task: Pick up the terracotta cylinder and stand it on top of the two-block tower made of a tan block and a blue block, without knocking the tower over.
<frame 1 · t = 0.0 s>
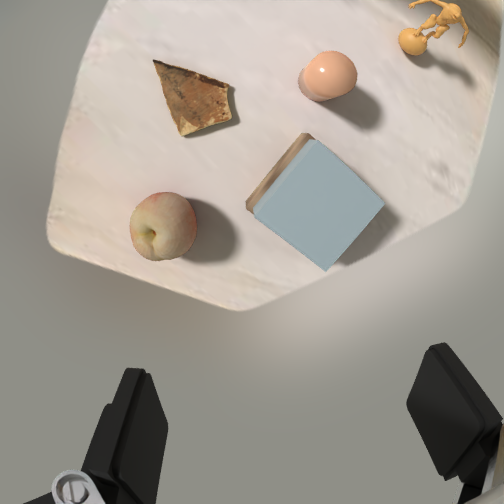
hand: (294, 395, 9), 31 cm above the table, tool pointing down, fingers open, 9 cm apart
terracotta cylinder: (318, 82, 33), on the table
bottom block: (306, 193, 39), on the table, touching top block
top block: (314, 201, 35), point 4 cm above the table, touching bottom block
figurine: (407, 39, 31), on the table
shard: (186, 102, 34), on the table
fruit: (170, 217, 39), on the table
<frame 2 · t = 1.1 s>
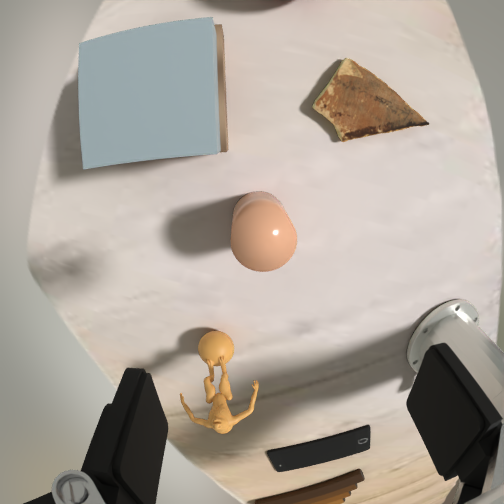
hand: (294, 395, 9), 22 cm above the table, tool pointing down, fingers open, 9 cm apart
pan flute: (322, 497, 57), on the table
terracotta cylinder: (258, 216, 30), on the table
bottom block: (167, 98, 26), on the table, touching top block
cell phone: (320, 448, 46), on the table
top block: (156, 96, 22), point 4 cm above the table, touching bottom block
figurine: (219, 343, 35), on the table
shard: (365, 96, 26), on the table
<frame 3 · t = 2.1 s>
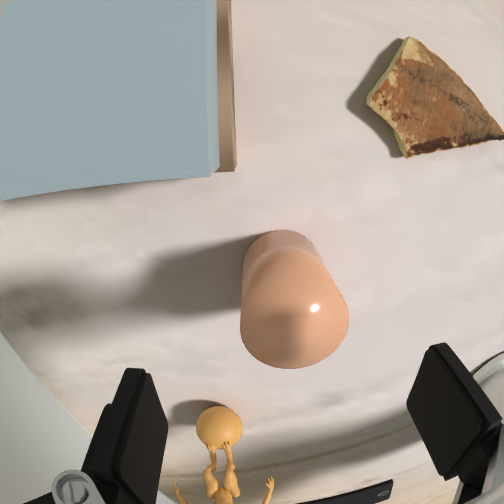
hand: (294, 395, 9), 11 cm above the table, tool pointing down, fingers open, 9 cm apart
terracotta cylinder: (281, 266, 20), on the table
bottom block: (145, 86, 16), on the table
cell phone: (336, 501, 35), on the table
top block: (115, 77, 12), point 4 cm above the table
figurine: (224, 416, 26), on the table
shard: (432, 93, 17), on the table
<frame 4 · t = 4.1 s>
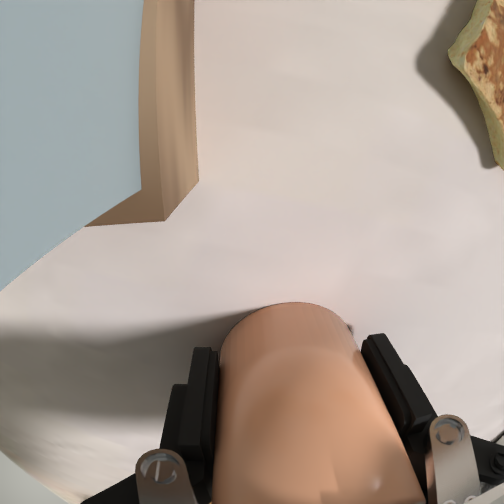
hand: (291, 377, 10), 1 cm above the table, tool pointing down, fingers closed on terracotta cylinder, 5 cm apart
terracotta cylinder: (288, 359, 11), on the table, touching gripper
bottom block: (42, 45, 7), on the table, touching top block
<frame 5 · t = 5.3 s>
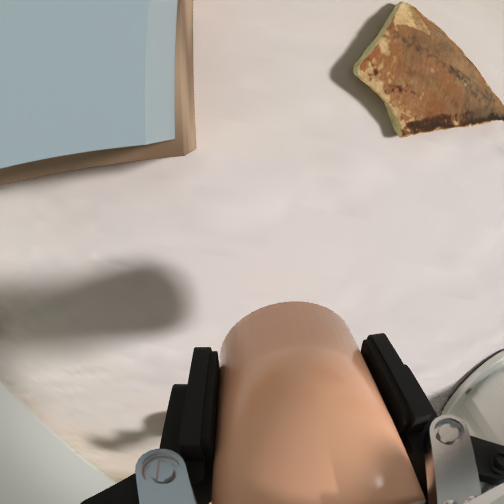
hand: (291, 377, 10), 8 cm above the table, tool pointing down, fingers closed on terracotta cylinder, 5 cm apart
terracotta cylinder: (287, 358, 11), point 7 cm above the table, touching gripper
bottom block: (94, 64, 13), on the table, touching top block
top block: (61, 39, 8), point 4 cm above the table, touching bottom block
shard: (428, 66, 14), on the table
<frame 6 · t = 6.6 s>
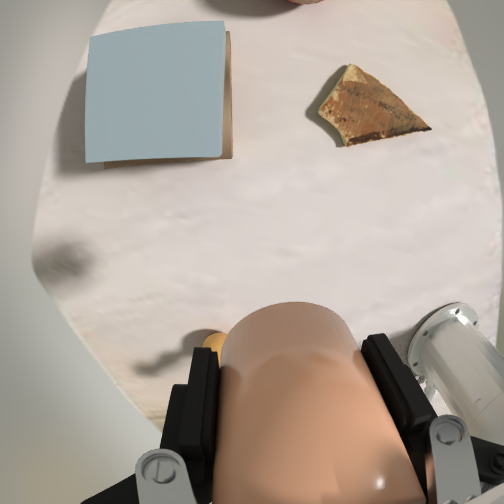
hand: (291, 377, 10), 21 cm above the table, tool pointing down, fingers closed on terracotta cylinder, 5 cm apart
terracotta cylinder: (288, 359, 11), point 20 cm above the table, touching gripper
bottom block: (173, 102, 26), on the table, touching top block
top block: (162, 95, 22), point 4 cm above the table, touching bottom block
figurine: (223, 345, 36), on the table
shard: (369, 101, 27), on the table
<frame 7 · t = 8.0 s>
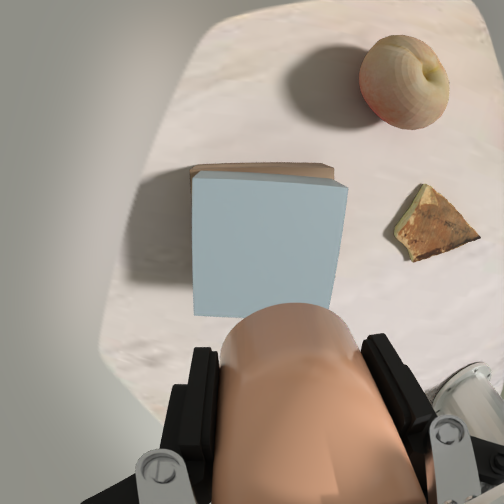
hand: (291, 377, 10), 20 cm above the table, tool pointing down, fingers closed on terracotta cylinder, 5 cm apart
terracotta cylinder: (288, 359, 11), point 19 cm above the table, touching gripper
bottom block: (260, 221, 29), on the table, touching top block
top block: (263, 236, 25), point 4 cm above the table, touching bottom block
shard: (434, 215, 29), on the table
fruit: (383, 86, 24), on the table
when the fingers open (11 cm above the table, at t = 10.2 s): terracotta cylinder drops 2 cm, point 8 cm above the table.
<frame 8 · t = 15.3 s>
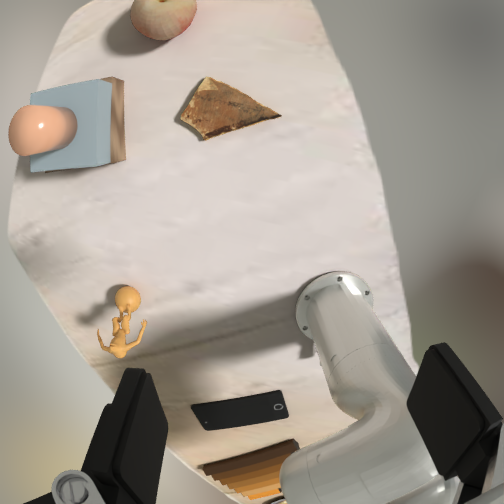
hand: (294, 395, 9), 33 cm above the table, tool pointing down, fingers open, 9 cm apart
pan flute: (269, 468, 67), on the table
terracotta cylinder: (59, 127, 28), point 8 cm above the table
bottom block: (90, 125, 36), on the table
cell phone: (240, 409, 56), on the table
food plate: (301, 502, 78), on the table
top block: (76, 126, 32), point 4 cm above the table
figurine: (134, 298, 46), on the table
shard: (226, 102, 36), on the table
fruit: (170, 20, 31), on the table
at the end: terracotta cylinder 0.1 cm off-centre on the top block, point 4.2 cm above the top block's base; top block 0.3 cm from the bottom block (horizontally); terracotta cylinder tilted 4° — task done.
